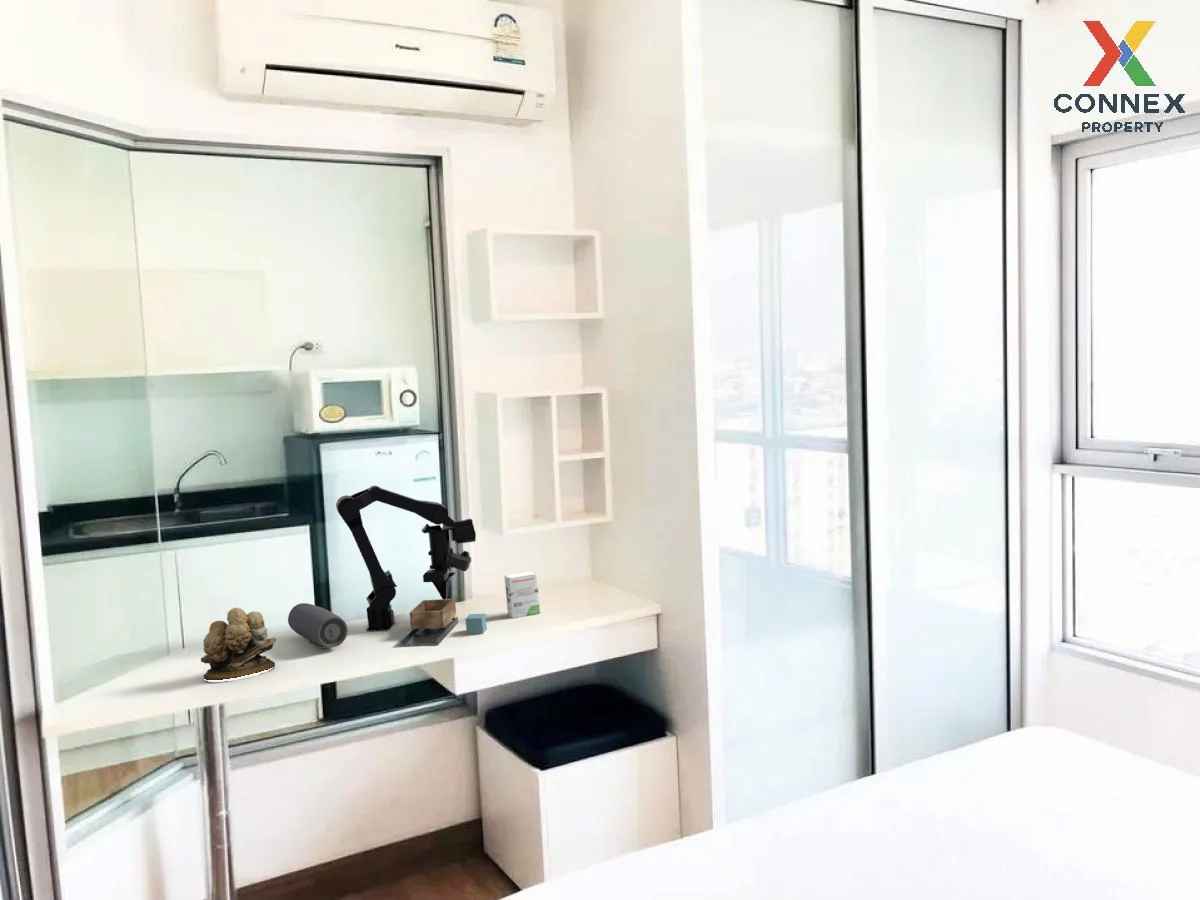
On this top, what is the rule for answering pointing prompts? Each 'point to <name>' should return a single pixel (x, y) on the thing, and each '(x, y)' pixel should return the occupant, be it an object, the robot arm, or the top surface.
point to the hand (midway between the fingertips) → (444, 599)
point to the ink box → (522, 594)
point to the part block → (476, 624)
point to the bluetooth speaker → (317, 625)
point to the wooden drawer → (432, 614)
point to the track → (427, 635)
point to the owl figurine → (237, 646)
